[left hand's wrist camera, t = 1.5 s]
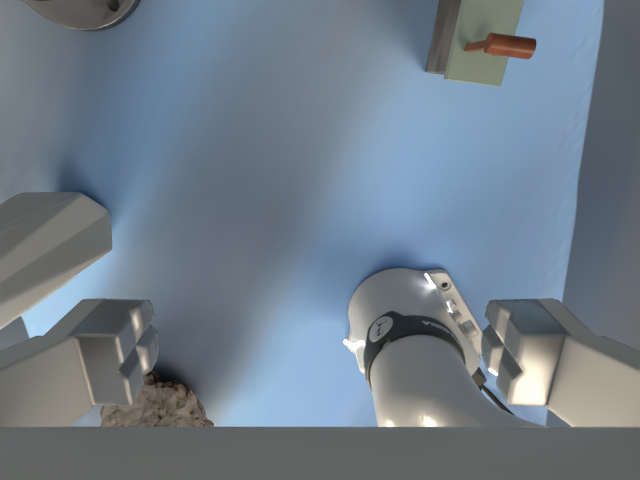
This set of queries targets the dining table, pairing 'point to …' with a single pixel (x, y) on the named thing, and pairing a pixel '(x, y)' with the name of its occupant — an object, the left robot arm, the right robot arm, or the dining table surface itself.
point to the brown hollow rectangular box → (442, 36)
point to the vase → (47, 245)
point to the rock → (158, 407)
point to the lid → (486, 41)
